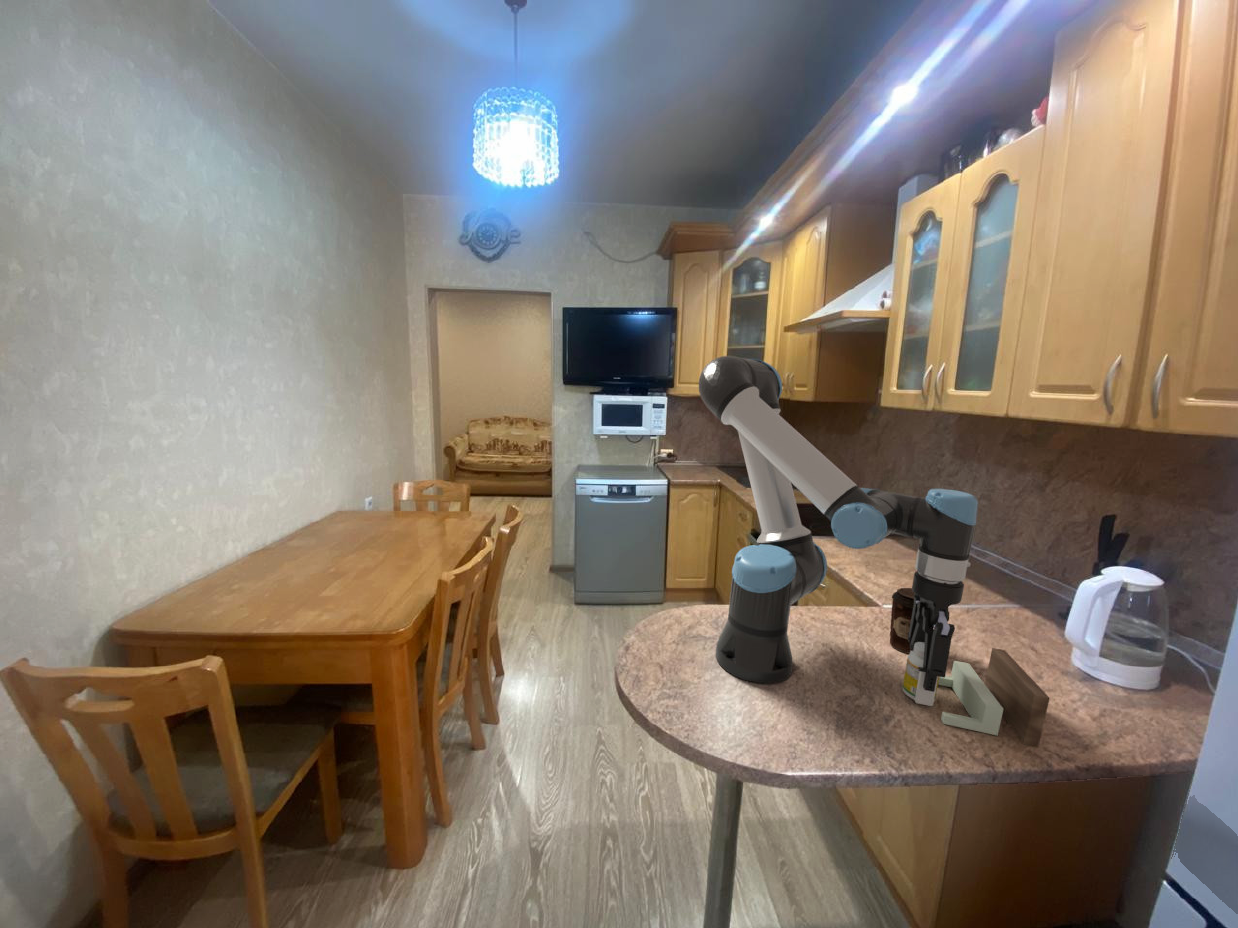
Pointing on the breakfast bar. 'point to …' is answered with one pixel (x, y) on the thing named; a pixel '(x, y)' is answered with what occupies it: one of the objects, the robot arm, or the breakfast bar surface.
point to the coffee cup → (901, 619)
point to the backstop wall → (1017, 697)
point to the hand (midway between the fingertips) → (918, 693)
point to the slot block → (972, 701)
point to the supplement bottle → (914, 670)
